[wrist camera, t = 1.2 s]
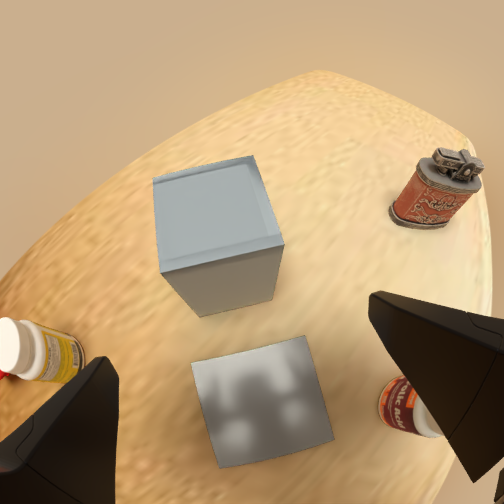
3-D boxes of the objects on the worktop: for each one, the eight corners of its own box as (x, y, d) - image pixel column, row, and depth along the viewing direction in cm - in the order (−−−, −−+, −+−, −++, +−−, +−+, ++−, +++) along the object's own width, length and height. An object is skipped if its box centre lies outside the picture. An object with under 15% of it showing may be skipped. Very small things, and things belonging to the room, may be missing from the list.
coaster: (332, 438, 17) (334, 439, 17) (220, 466, 16) (219, 468, 16) (304, 336, 21) (305, 335, 20) (192, 362, 20) (190, 362, 19)
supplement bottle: (43, 359, 19) (-19, 343, 12) (64, 324, 21) (4, 297, 13) (71, 394, 18) (6, 391, 10) (94, 357, 20) (31, 342, 12)
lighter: (440, 205, 26) (484, 149, 17) (449, 230, 25) (500, 177, 16) (385, 200, 26) (425, 132, 17) (392, 228, 25) (441, 163, 16)
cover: (271, 300, 22) (284, 244, 13) (199, 317, 22) (160, 272, 12) (253, 235, 25) (253, 155, 16) (187, 251, 24) (152, 177, 15)
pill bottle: (379, 376, 19) (438, 371, 12) (424, 373, 19) (488, 364, 11) (373, 430, 17) (429, 450, 10) (419, 424, 17) (481, 433, 9)
